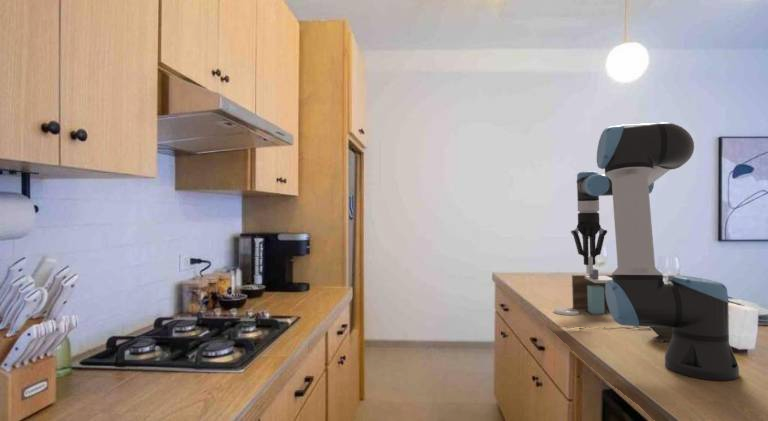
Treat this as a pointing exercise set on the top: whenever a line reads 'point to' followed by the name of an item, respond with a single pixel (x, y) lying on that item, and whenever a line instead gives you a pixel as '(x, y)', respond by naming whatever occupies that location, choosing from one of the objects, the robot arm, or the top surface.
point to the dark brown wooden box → (584, 292)
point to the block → (595, 299)
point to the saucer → (566, 311)
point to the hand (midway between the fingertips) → (589, 273)
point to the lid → (597, 277)
